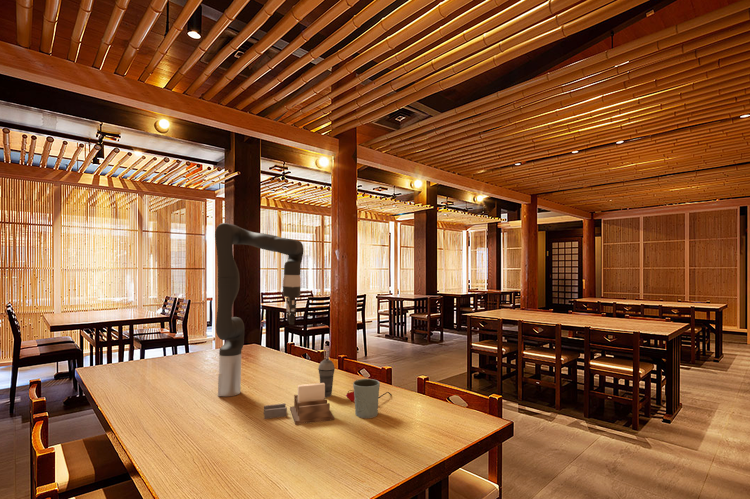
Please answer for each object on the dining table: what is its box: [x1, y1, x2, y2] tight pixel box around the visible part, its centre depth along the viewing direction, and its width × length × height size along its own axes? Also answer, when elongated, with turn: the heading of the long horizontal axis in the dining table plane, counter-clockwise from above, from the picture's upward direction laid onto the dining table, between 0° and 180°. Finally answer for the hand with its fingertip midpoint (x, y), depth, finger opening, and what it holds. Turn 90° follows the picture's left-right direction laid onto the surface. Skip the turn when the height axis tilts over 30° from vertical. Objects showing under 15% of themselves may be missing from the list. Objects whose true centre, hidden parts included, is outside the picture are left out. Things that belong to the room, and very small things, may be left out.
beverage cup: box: [317, 348, 336, 398], centre depth 170 cm, size 7×7×20 cm
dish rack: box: [289, 394, 335, 426], centre depth 148 cm, size 14×15×6 cm
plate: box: [297, 382, 326, 402], centre depth 148 cm, size 10×2×10 cm, turn 109°
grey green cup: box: [352, 378, 381, 419], centre depth 149 cm, size 10×10×12 cm
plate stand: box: [263, 402, 288, 420], centre depth 147 cm, size 8×5×3 cm
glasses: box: [345, 389, 392, 403], centre depth 167 cm, size 14×16×5 cm
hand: (290, 322), depth 168 cm, fingers open, 8 cm apart
